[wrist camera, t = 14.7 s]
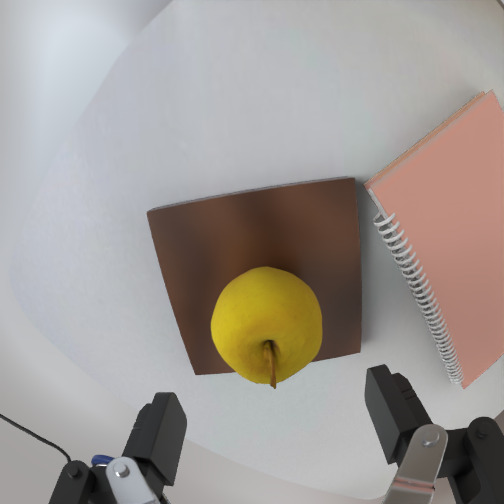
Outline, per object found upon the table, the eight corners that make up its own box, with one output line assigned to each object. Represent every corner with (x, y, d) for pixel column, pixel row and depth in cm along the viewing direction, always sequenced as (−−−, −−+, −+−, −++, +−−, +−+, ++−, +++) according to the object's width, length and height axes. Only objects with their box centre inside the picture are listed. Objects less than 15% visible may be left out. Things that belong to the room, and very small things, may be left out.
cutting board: (198, 364, 24) (195, 375, 23) (153, 208, 20) (145, 211, 18) (355, 342, 23) (360, 352, 22) (348, 176, 19) (354, 177, 18)
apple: (268, 345, 22) (272, 425, 14) (201, 296, 20) (174, 369, 13) (329, 289, 20) (364, 358, 12) (262, 229, 19) (265, 278, 11)
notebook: (350, 192, 19) (359, 196, 17) (480, 91, 16) (494, 89, 14) (450, 386, 26) (457, 396, 24) (538, 300, 22) (546, 306, 20)
